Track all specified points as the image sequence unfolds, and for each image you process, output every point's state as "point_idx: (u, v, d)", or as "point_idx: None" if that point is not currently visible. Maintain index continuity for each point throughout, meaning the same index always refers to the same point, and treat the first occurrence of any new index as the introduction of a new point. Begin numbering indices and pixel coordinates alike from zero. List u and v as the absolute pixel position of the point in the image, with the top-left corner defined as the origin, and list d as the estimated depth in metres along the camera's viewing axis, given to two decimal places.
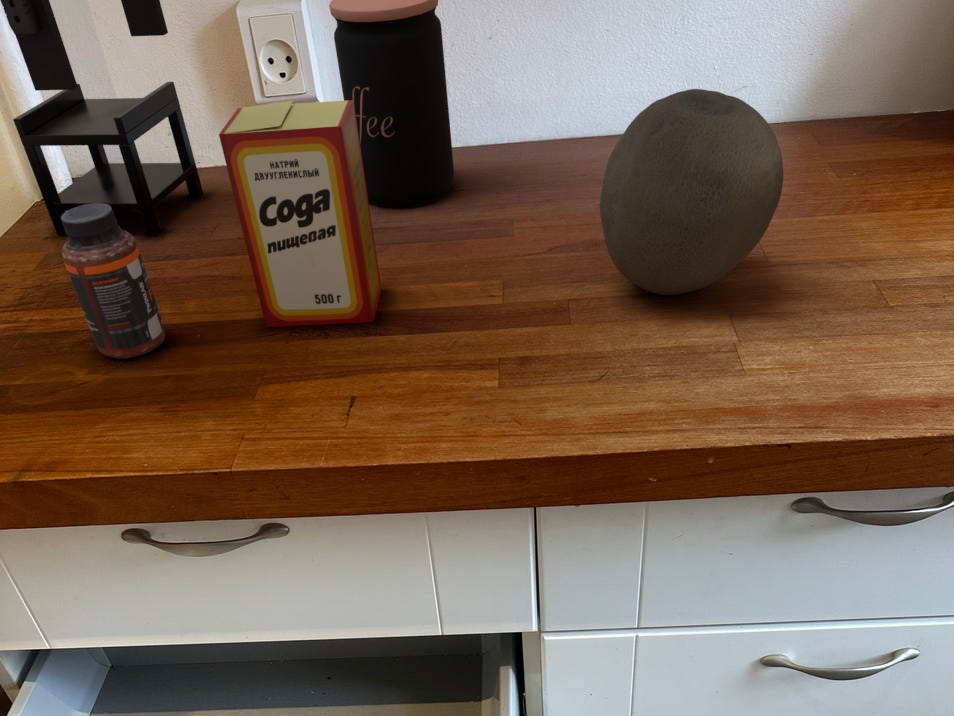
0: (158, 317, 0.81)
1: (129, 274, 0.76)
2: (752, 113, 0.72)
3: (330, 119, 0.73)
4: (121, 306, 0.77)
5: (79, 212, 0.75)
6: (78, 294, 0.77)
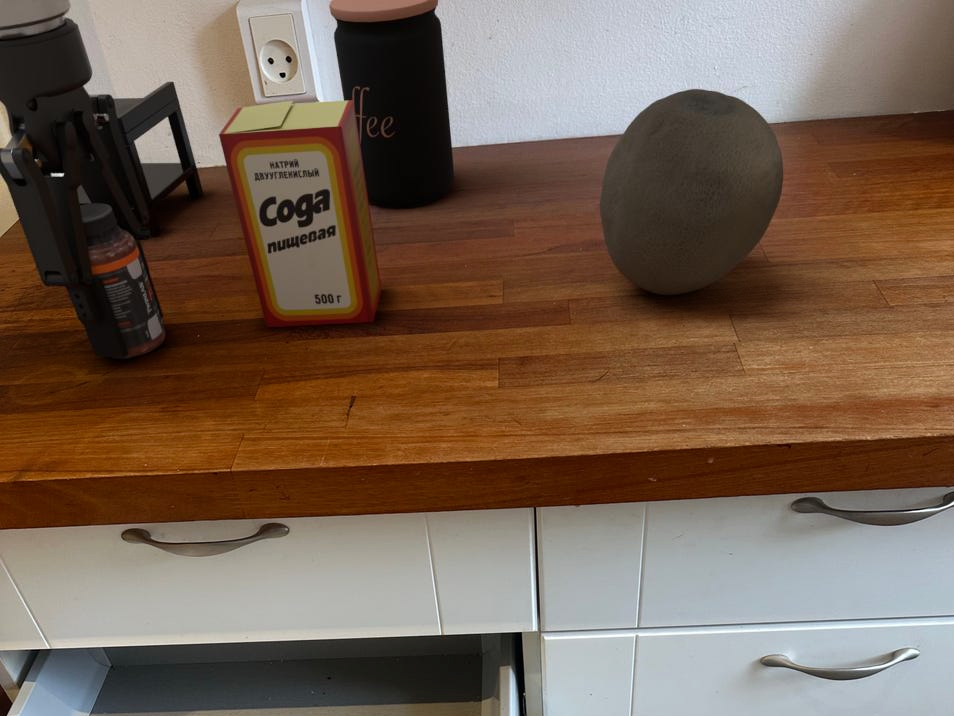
0: (158, 317, 0.81)
1: (129, 274, 0.76)
2: (752, 113, 0.72)
3: (330, 119, 0.73)
4: (121, 306, 0.77)
5: None
6: None
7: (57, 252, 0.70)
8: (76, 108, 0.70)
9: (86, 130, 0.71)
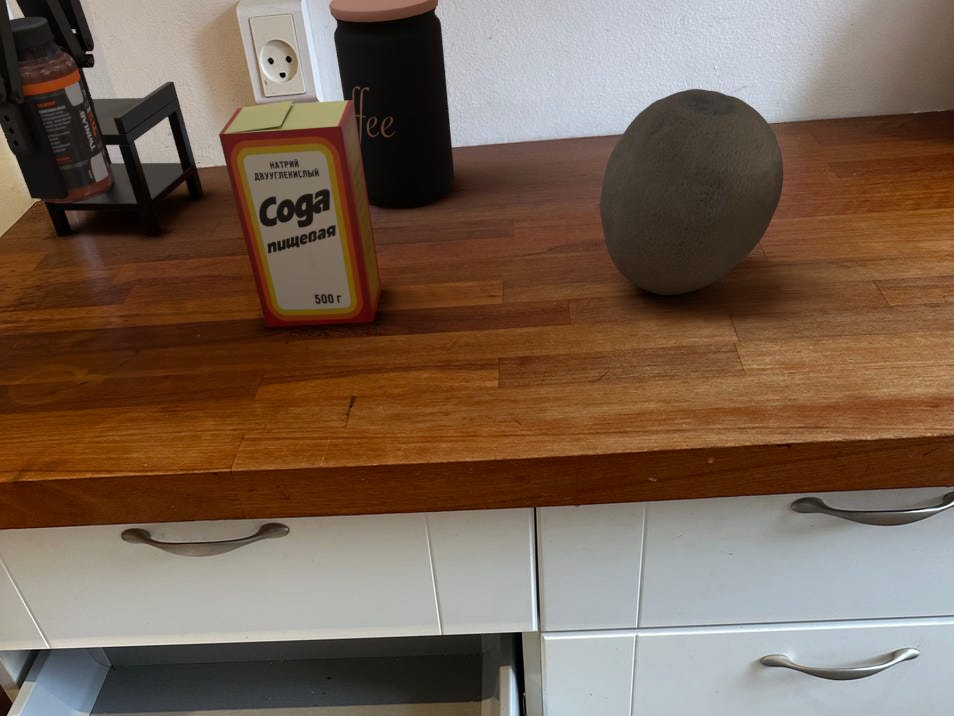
0: (103, 158, 0.72)
1: (67, 99, 0.67)
2: (752, 113, 0.72)
3: (330, 119, 0.73)
4: (59, 137, 0.68)
5: None
6: None
7: None
8: None
9: None
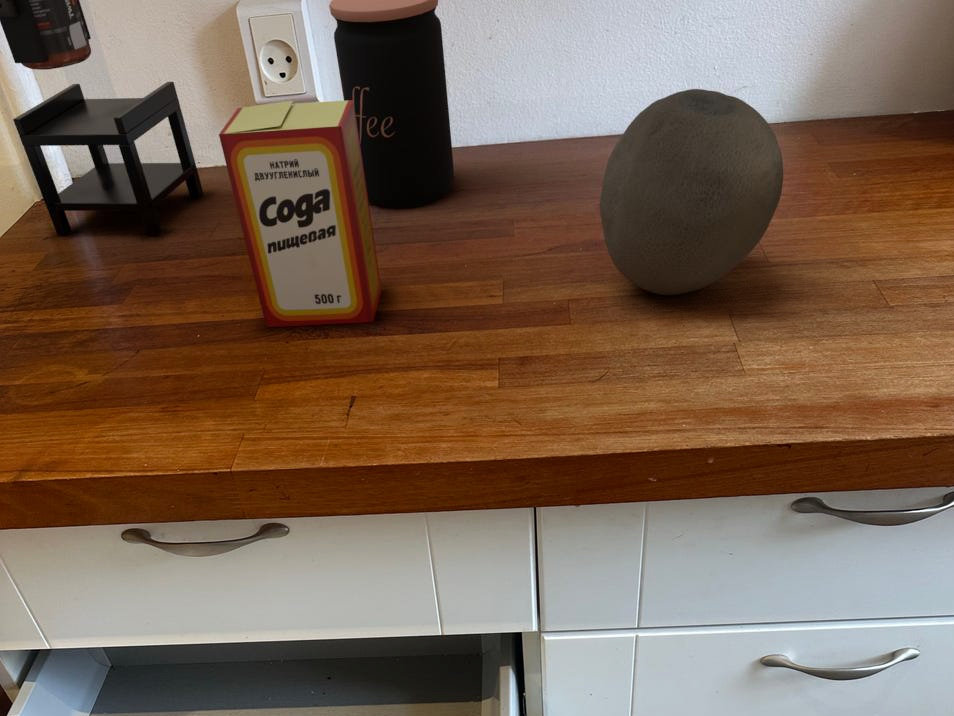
0: (82, 27, 0.78)
1: None
2: (752, 113, 0.72)
3: (330, 119, 0.73)
4: (39, 2, 0.75)
5: None
6: None
7: None
8: None
9: None
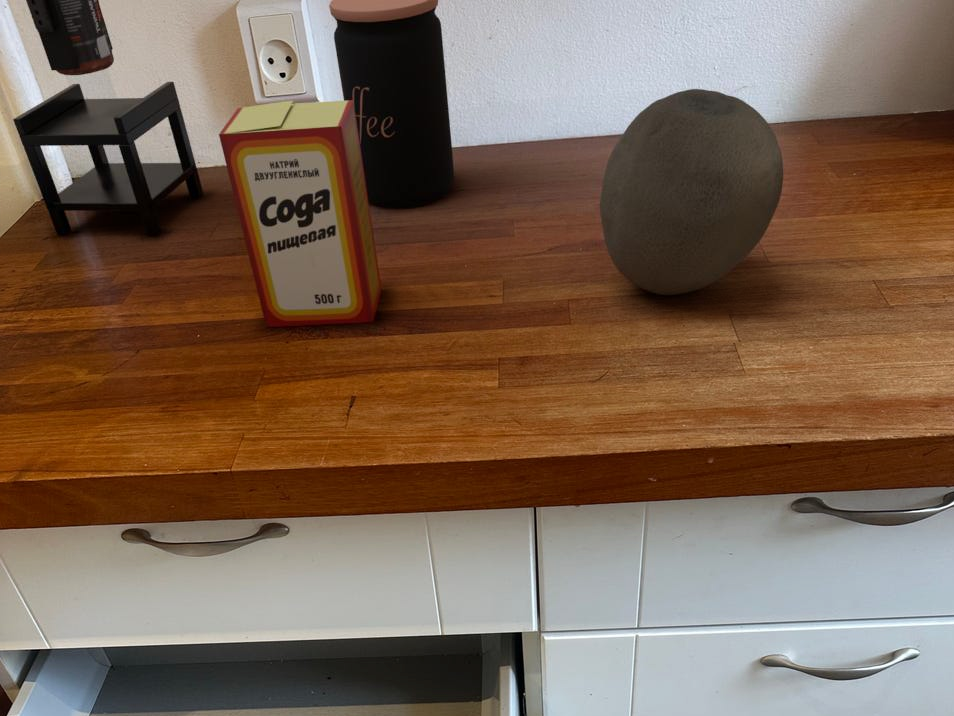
0: (106, 40, 0.94)
1: None
2: (752, 113, 0.72)
3: (330, 119, 0.73)
4: (72, 19, 0.90)
5: None
6: None
7: None
8: None
9: None
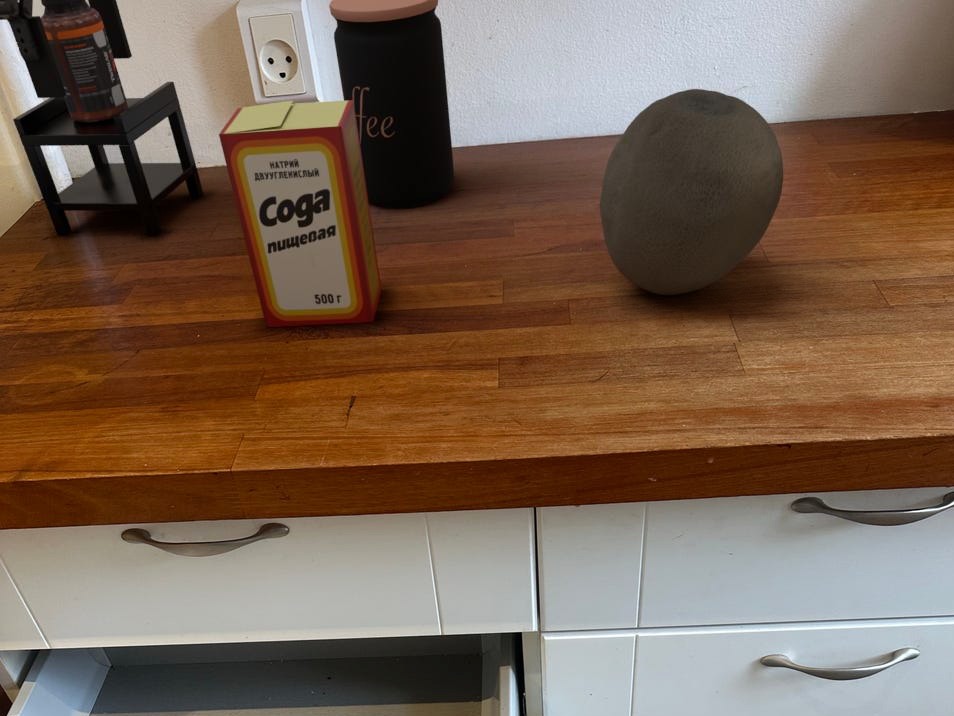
0: (121, 88, 0.97)
1: (95, 42, 0.92)
2: (752, 113, 0.72)
3: (330, 119, 0.73)
4: (88, 70, 0.93)
5: None
6: None
7: None
8: None
9: None
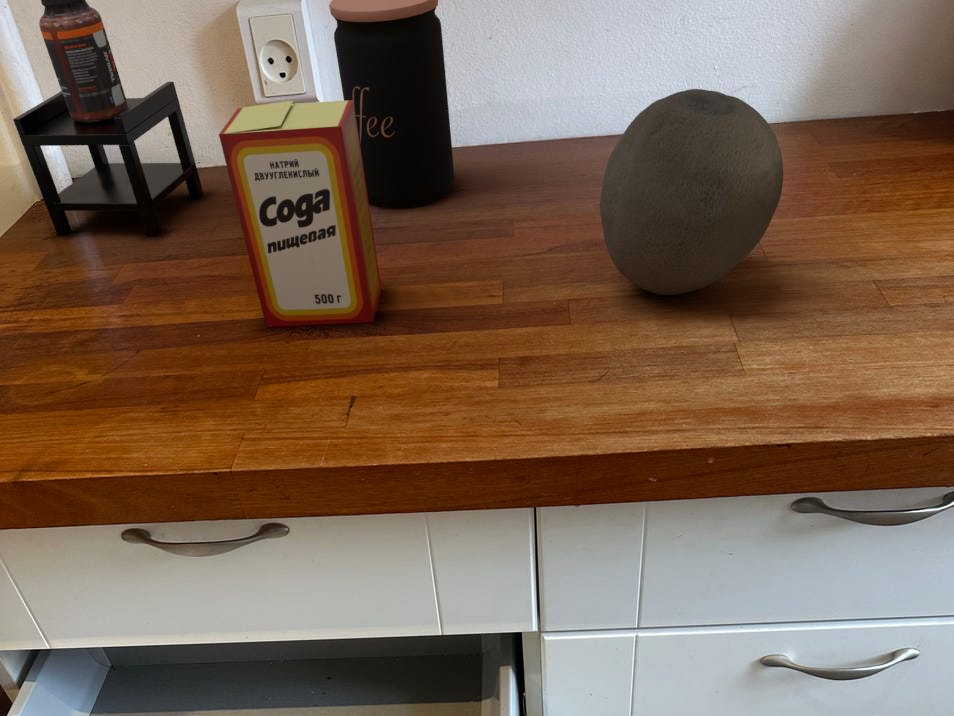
0: (121, 88, 0.97)
1: (95, 42, 0.92)
2: (752, 113, 0.72)
3: (330, 119, 0.73)
4: (88, 70, 0.93)
5: None
6: (53, 60, 0.93)
7: None
8: None
9: None
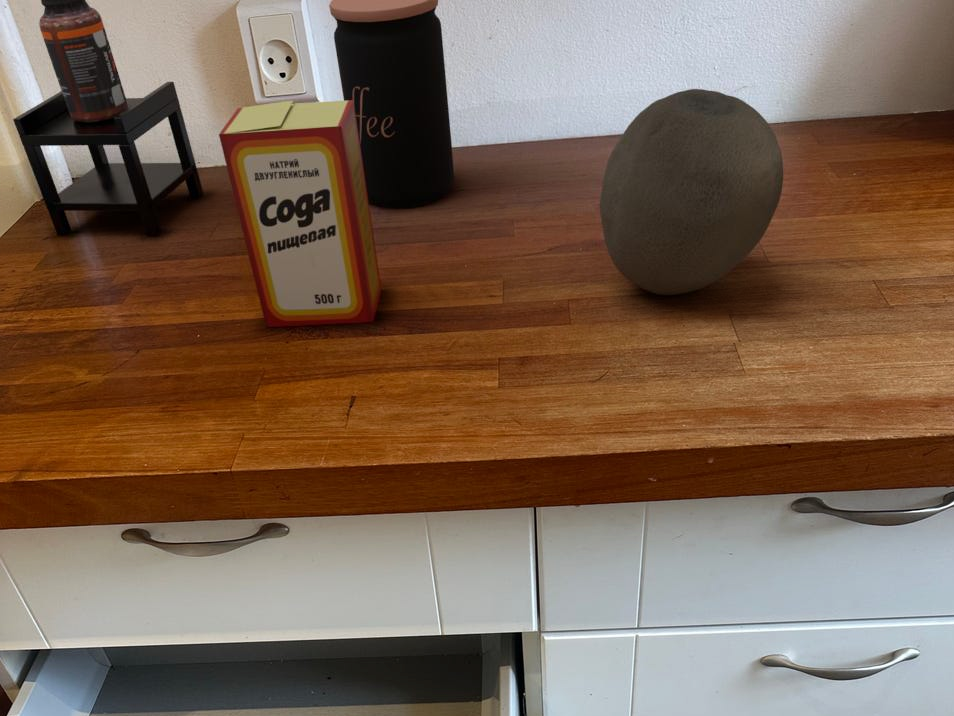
0: (121, 88, 0.97)
1: (95, 42, 0.92)
2: (752, 113, 0.72)
3: (330, 119, 0.73)
4: (88, 70, 0.93)
5: None
6: (53, 60, 0.93)
7: None
8: None
9: None
